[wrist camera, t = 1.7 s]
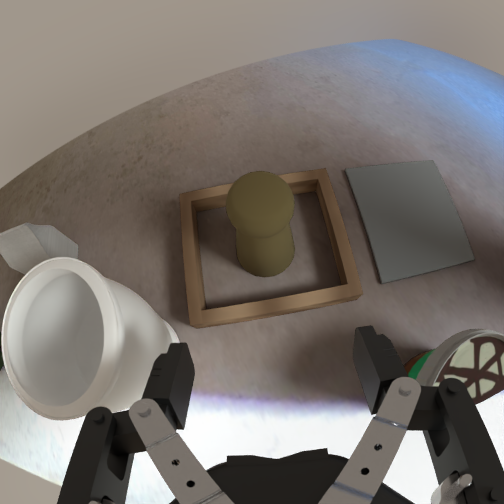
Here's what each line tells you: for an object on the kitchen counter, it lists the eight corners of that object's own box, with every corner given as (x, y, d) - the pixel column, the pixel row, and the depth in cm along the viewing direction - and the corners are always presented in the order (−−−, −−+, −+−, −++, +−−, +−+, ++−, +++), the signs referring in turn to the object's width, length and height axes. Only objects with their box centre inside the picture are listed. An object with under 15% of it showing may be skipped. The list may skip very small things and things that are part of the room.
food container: (467, 327, 27) (524, 308, 17) (474, 380, 24) (533, 377, 15) (368, 354, 27) (408, 347, 18) (375, 414, 25) (417, 432, 16)
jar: (138, 422, 26) (43, 448, 12) (86, 344, 30) (-15, 319, 16) (214, 361, 28) (154, 355, 14) (152, 285, 32) (71, 223, 18)
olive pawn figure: (301, 231, 32) (310, 169, 22) (284, 284, 30) (287, 241, 20) (247, 216, 33) (234, 151, 23) (227, 266, 32) (203, 217, 21)
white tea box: (77, 272, 33) (24, 241, 24) (39, 281, 33) (-13, 254, 24) (78, 245, 34) (29, 208, 25) (41, 255, 34) (-8, 224, 25)
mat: (432, 162, 34) (433, 160, 34) (473, 260, 29) (474, 259, 29) (344, 170, 35) (345, 168, 34) (381, 284, 29) (382, 283, 29)
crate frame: (323, 180, 34) (325, 168, 32) (356, 299, 29) (363, 293, 27) (185, 205, 35) (179, 194, 32) (196, 328, 30) (189, 325, 27)
